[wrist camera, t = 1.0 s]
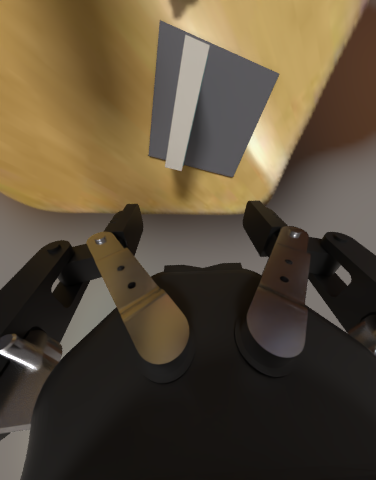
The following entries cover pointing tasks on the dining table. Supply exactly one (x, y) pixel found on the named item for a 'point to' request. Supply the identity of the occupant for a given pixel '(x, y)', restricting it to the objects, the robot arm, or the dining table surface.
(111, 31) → the dining table surface
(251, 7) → the dining table surface
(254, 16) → the dining table surface
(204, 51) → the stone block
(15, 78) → the dining table surface
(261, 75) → the rubber mat
